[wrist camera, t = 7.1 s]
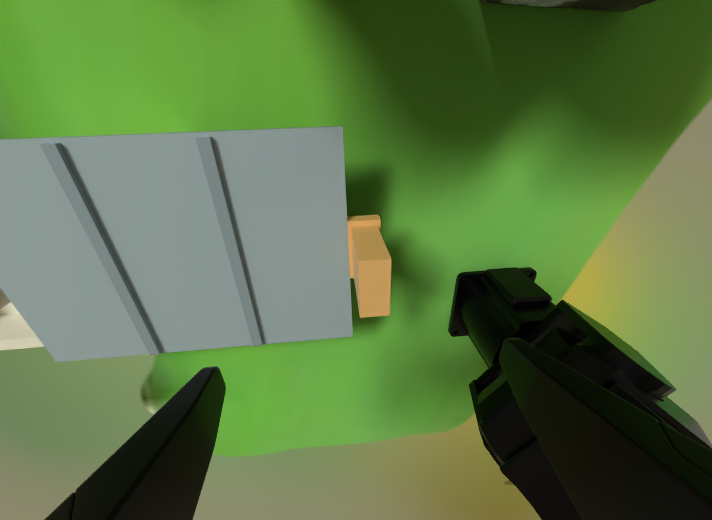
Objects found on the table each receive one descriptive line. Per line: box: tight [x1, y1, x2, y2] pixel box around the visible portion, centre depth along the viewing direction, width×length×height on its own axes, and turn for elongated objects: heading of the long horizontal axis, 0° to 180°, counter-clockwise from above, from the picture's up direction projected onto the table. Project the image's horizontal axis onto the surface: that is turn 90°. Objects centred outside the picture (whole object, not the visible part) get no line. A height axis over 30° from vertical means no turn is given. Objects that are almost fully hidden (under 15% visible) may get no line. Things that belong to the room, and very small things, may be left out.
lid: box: [0, 126, 391, 362], centre depth 14 cm, size 13×21×5 cm, turn 92°
